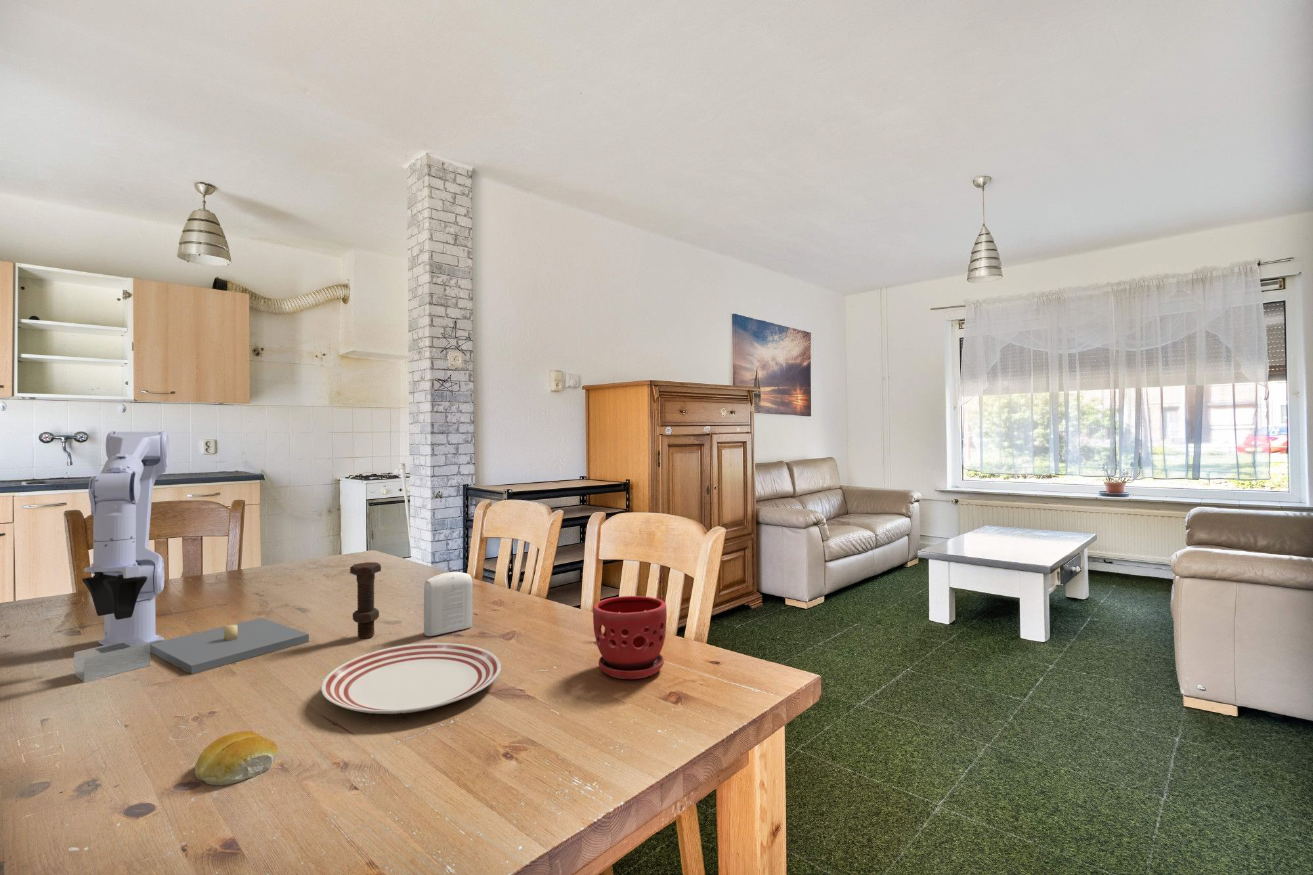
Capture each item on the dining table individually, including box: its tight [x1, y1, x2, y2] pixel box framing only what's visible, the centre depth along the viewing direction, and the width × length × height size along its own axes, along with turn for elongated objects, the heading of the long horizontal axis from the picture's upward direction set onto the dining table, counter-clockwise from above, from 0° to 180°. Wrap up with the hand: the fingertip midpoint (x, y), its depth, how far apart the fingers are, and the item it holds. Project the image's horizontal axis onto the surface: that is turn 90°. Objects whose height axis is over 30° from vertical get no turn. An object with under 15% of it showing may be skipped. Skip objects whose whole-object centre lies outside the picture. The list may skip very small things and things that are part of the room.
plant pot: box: [592, 595, 668, 680], centre depth 109 cm, size 13×13×12 cm
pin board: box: [150, 617, 310, 675], centre depth 121 cm, size 20×20×4 cm
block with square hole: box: [73, 638, 151, 683], centre depth 109 cm, size 6×9×4 cm, turn 146°
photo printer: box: [423, 571, 473, 637], centre depth 130 cm, size 10×4×12 cm, turn 134°
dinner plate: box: [320, 642, 502, 715], centre depth 101 cm, size 27×27×3 cm
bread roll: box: [194, 730, 279, 786], centre depth 77 cm, size 8×9×4 cm
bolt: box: [349, 561, 382, 639], centre depth 126 cm, size 6×5×15 cm
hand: (114, 616), depth 109 cm, fingers open, 7 cm apart
